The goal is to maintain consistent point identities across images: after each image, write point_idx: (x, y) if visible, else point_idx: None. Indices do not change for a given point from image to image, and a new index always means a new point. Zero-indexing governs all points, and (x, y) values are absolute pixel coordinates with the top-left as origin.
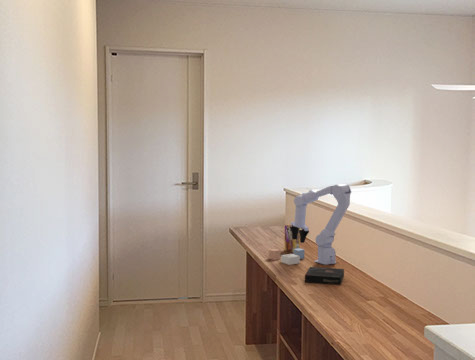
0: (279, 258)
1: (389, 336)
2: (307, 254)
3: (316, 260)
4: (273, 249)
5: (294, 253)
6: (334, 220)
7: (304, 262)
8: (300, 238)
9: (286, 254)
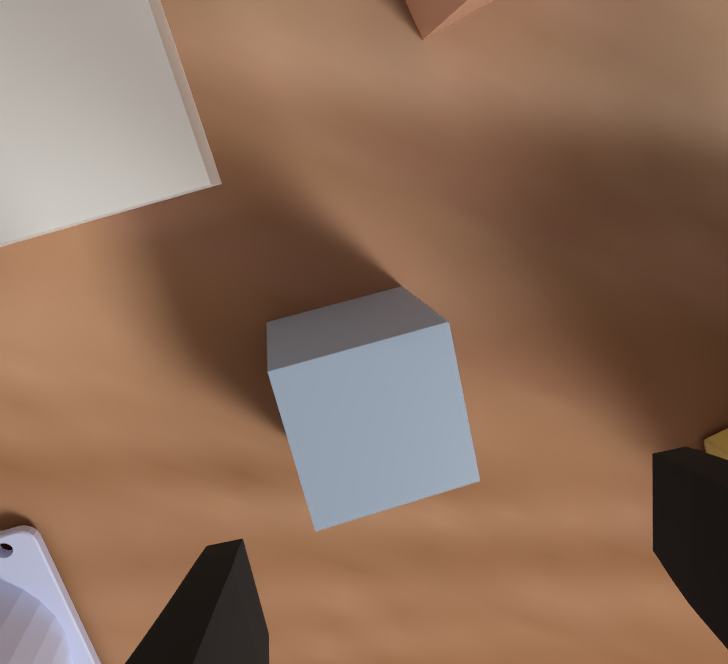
0: (411, 11)
1: None
2: (535, 567)
3: (27, 566)
4: None
5: (377, 317)
6: None
7: (10, 351)
8: (174, 639)
9: (153, 23)
